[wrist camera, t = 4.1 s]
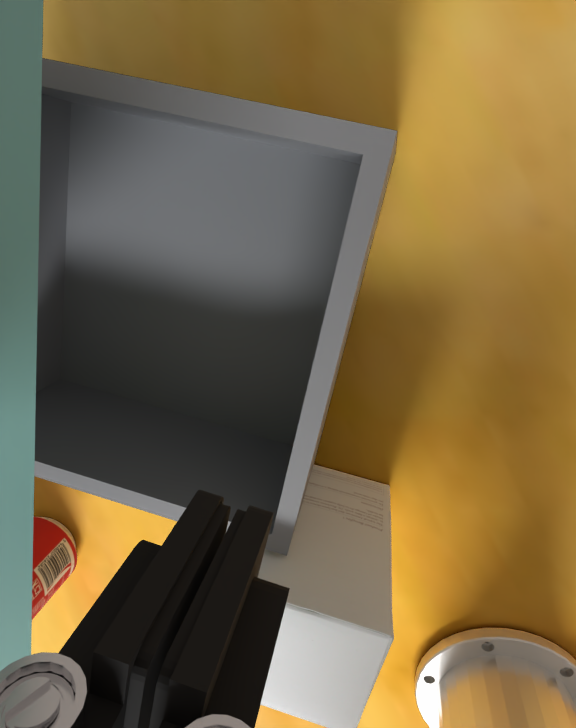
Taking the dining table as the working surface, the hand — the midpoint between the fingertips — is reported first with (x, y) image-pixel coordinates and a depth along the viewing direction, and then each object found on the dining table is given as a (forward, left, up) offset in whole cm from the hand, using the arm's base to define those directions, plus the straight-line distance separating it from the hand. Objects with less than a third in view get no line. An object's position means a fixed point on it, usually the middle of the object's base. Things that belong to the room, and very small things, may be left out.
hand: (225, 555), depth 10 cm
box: (+9, 0, -22) cm, 24 cm away
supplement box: (-3, +14, -22) cm, 26 cm away
